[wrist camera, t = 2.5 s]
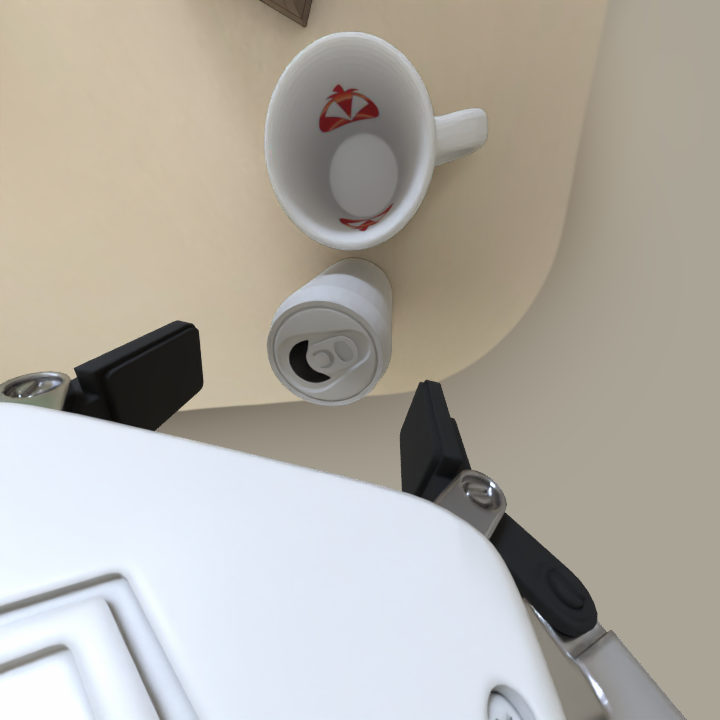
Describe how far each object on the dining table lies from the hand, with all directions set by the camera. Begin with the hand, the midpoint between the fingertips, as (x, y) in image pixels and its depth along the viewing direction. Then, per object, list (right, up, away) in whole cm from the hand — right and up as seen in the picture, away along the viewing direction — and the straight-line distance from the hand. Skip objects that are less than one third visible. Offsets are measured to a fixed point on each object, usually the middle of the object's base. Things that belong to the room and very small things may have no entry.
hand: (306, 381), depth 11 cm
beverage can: (+2, +7, +12) cm, 14 cm away
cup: (+4, +14, +8) cm, 17 cm away
